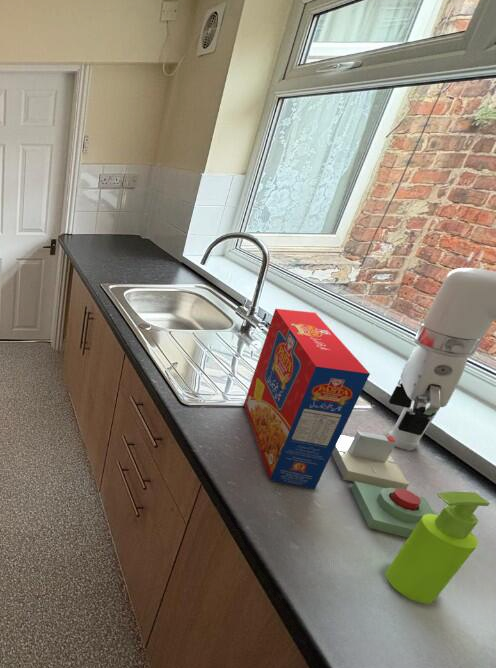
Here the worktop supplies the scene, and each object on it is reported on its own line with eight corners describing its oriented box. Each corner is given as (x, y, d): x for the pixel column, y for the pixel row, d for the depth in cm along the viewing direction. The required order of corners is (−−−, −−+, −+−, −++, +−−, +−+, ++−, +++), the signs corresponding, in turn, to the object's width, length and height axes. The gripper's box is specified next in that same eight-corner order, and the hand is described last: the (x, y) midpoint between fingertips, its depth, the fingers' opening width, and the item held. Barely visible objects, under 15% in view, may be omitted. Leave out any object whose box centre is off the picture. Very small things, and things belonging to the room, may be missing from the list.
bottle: (419, 445, 96) (475, 350, 85) (412, 454, 94) (469, 358, 82) (390, 433, 100) (440, 341, 89) (383, 441, 97) (434, 348, 86)
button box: (419, 505, 81) (429, 490, 79) (446, 548, 73) (458, 532, 71) (350, 488, 85) (358, 474, 83) (368, 527, 77) (377, 512, 75)
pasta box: (243, 404, 111) (275, 308, 98) (278, 410, 108) (315, 312, 96) (269, 479, 87) (315, 366, 75) (314, 489, 85) (370, 373, 72)
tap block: (324, 440, 98) (328, 431, 97) (378, 451, 94) (383, 442, 93) (342, 479, 87) (347, 470, 86) (404, 493, 84) (410, 484, 82)
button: (411, 498, 78) (415, 491, 77) (420, 513, 75) (424, 506, 74) (387, 492, 79) (391, 486, 79) (395, 507, 76) (399, 500, 76)
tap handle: (350, 455, 90) (361, 434, 87) (347, 450, 91) (358, 429, 89) (385, 462, 88) (397, 441, 85) (381, 457, 89) (393, 436, 87)
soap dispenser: (369, 567, 70) (425, 480, 61) (411, 568, 70) (473, 481, 61) (399, 603, 65) (465, 513, 56) (445, 604, 64) (518, 514, 55)
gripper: (495, 367, 64) (442, 451, 72) (461, 326, 77) (419, 401, 85) (429, 354, 68) (385, 436, 76) (407, 317, 81) (372, 390, 89)
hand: (403, 417), depth 80 cm, fingers open, 9 cm apart
